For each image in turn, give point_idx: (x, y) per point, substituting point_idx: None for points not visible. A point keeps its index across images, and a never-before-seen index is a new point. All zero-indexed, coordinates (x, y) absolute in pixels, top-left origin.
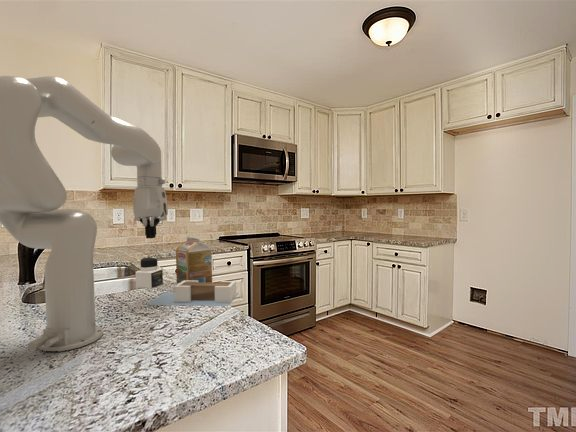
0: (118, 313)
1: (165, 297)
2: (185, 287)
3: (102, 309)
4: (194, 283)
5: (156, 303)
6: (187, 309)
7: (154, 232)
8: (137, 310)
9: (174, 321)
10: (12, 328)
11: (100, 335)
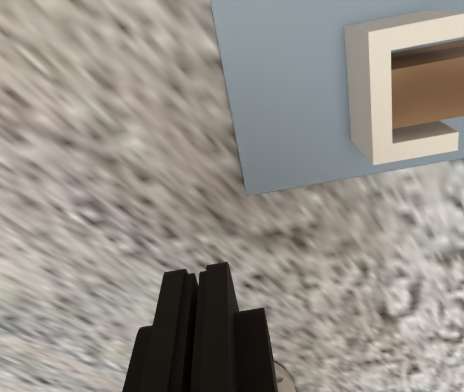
0: (193, 252)
1: (271, 89)
2: (434, 152)
3: (98, 234)
4: (460, 79)
5: (284, 171)
6: (425, 166)
7: (274, 368)
8: (237, 215)
9: (427, 265)
10: (9, 385)
11: (293, 383)
